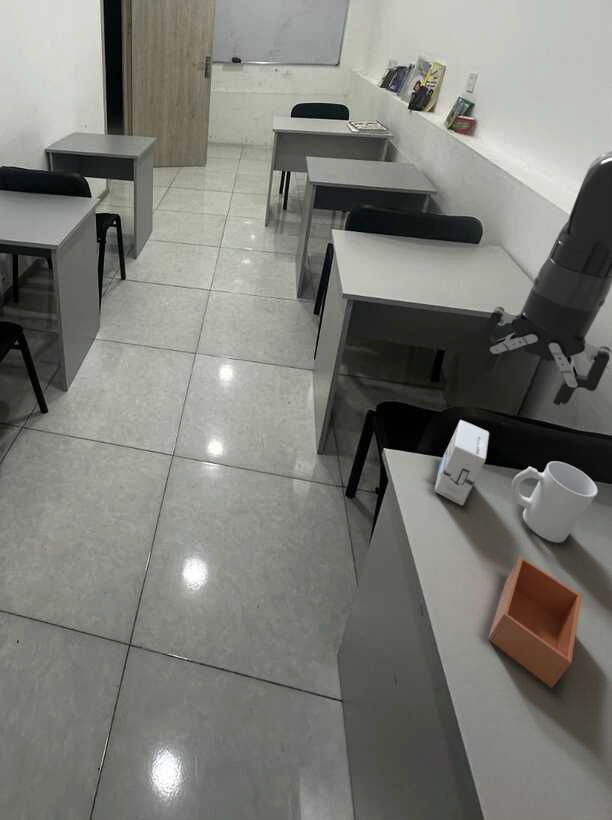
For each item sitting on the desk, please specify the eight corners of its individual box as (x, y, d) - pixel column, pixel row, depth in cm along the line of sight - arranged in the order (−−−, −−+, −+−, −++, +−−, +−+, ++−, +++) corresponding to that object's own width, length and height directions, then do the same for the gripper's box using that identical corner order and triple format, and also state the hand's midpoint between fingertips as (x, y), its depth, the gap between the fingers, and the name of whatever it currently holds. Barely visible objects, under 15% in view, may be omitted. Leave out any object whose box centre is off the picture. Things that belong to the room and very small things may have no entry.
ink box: (439, 461, 95) (459, 416, 90) (468, 475, 92) (489, 430, 88) (433, 491, 88) (454, 445, 84) (463, 507, 86) (486, 460, 81)
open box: (562, 622, 70) (581, 595, 68) (550, 689, 63) (571, 662, 60) (504, 582, 75) (520, 556, 72) (486, 640, 67) (503, 613, 65)
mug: (563, 521, 86) (592, 473, 81) (570, 553, 80) (602, 504, 75) (497, 493, 90) (522, 446, 85) (500, 521, 85) (526, 473, 80)
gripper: (636, 307, 64) (583, 400, 70) (512, 266, 73) (475, 353, 79) (634, 327, 59) (577, 426, 65) (500, 281, 68) (462, 372, 74)
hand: (521, 386), depth 72 cm, fingers open, 8 cm apart
